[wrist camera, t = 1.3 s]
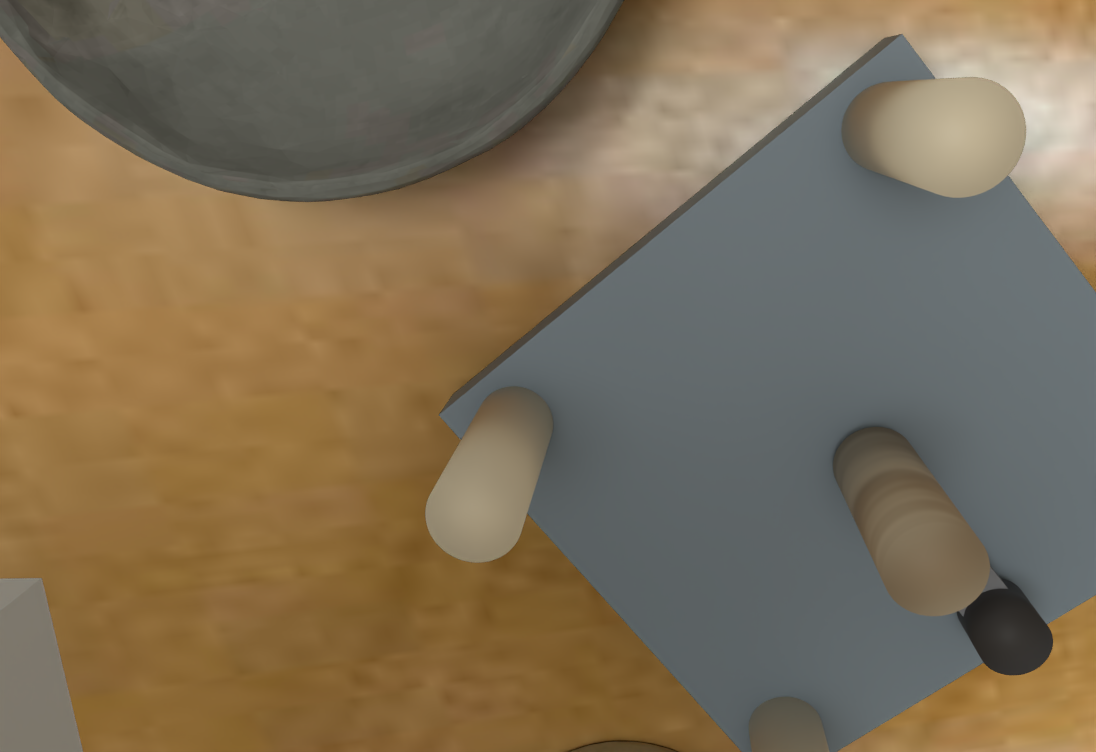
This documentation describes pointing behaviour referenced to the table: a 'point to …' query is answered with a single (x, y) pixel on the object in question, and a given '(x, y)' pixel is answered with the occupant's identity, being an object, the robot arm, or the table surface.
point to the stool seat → (803, 407)
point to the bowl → (305, 82)
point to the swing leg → (934, 551)
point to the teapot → (622, 747)
